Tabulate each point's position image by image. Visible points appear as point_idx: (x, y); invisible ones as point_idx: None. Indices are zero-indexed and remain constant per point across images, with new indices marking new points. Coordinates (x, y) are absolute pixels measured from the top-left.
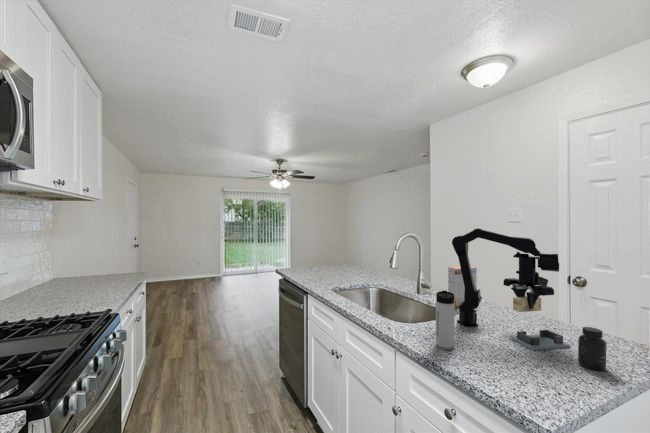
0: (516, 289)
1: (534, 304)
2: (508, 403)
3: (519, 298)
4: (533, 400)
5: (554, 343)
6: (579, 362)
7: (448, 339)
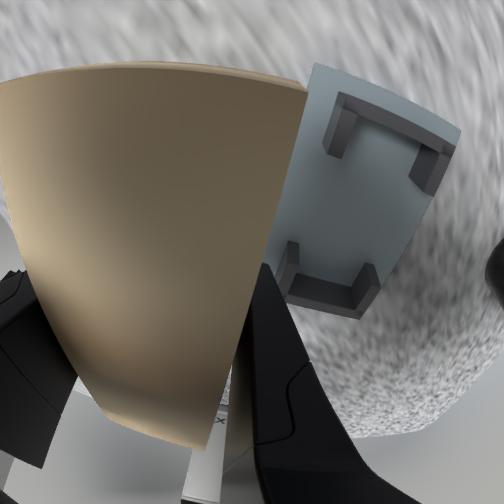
0: (36, 464)
1: (287, 312)
2: (384, 434)
3: (161, 433)
4: (407, 420)
5: (413, 184)
6: (489, 286)
7: None
